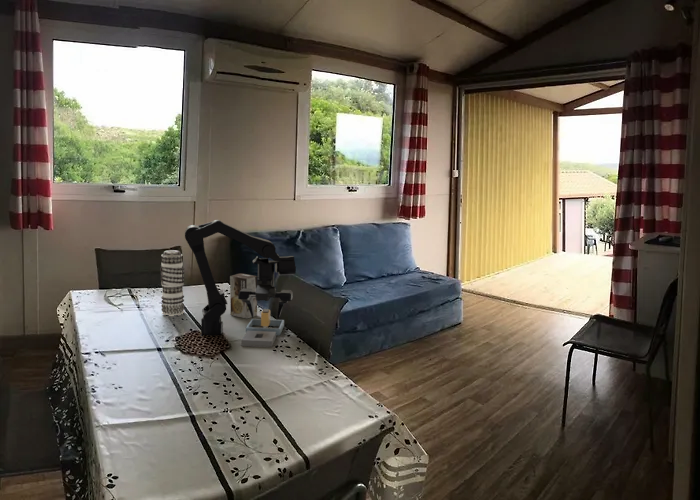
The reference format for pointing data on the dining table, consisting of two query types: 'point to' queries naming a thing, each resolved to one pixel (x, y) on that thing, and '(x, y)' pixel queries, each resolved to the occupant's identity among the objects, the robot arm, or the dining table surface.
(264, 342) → the fuse holder
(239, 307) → the coffee box
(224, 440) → the dining table surface
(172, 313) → the decorative candle
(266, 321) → the fuse
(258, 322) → the parts tray
